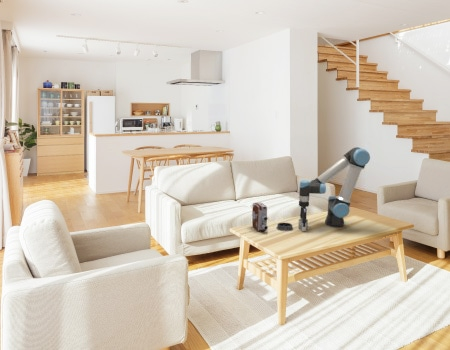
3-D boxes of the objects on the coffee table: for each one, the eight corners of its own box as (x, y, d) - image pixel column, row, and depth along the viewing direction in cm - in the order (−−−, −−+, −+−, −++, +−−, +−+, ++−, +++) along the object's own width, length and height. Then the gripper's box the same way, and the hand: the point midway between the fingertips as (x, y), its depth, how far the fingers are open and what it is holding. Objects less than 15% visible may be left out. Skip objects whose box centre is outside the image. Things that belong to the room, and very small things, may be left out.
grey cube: (306, 227, 308) (306, 218, 307) (308, 230, 301) (308, 221, 300) (297, 227, 309) (297, 218, 307) (299, 230, 302) (299, 220, 300)
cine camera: (259, 234, 291) (259, 208, 287) (250, 226, 309) (250, 201, 306) (270, 233, 293) (271, 207, 290) (261, 225, 312) (262, 201, 308)
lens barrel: (292, 226, 311) (292, 222, 310) (294, 231, 298) (294, 227, 298) (275, 225, 312) (275, 222, 311) (276, 230, 299) (277, 227, 298)
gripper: (297, 197, 313) (296, 223, 317) (300, 204, 290) (299, 233, 294) (306, 197, 313) (305, 224, 316) (311, 204, 289) (309, 233, 293)
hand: (302, 228), depth 305 cm, fingers open, 11 cm apart
